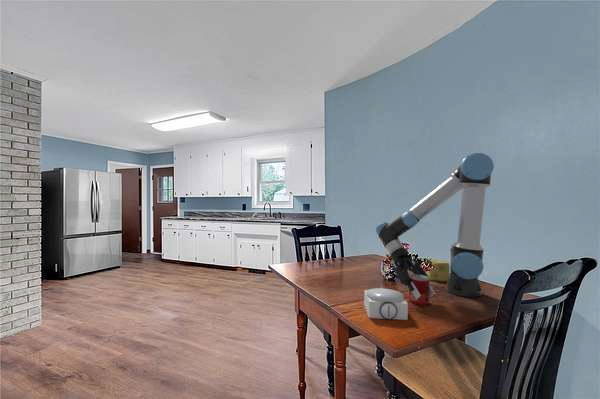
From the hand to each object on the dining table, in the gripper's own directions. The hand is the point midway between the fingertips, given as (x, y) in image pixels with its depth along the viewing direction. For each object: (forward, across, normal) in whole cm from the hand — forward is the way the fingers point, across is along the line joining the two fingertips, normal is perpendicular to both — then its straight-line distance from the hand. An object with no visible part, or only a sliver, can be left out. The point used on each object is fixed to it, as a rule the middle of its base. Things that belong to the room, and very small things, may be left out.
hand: (425, 296), depth 124 cm
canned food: (0, 0, -5) cm, 5 cm away
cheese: (-16, -41, -21) cm, 48 cm away
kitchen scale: (+1, +21, -4) cm, 22 cm away
